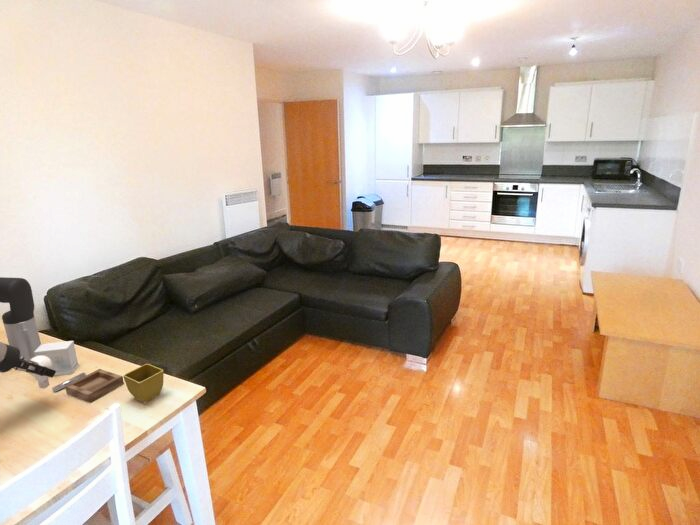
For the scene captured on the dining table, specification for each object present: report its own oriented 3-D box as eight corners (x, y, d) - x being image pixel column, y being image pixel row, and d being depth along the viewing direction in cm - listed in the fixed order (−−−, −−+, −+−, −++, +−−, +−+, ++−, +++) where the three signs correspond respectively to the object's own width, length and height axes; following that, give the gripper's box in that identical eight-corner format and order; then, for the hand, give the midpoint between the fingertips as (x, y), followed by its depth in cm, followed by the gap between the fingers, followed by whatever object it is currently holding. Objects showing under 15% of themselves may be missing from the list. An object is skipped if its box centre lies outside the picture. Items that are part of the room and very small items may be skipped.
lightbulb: (44, 394, 129) (36, 363, 125) (27, 392, 130) (19, 360, 127) (61, 383, 134) (54, 352, 131) (45, 381, 136) (38, 350, 132)
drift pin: (56, 392, 139) (54, 388, 139) (52, 391, 140) (51, 386, 139) (87, 376, 149) (86, 372, 148) (84, 375, 149) (83, 371, 149)
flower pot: (168, 394, 138) (164, 369, 135) (143, 408, 130) (139, 382, 128) (151, 386, 142) (147, 363, 139) (126, 400, 135) (122, 375, 132)
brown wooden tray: (66, 394, 138) (64, 386, 137) (101, 376, 149) (99, 368, 148) (90, 403, 133) (88, 394, 132) (123, 383, 144) (122, 376, 143)
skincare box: (39, 378, 148) (33, 351, 145) (47, 369, 154) (41, 343, 151) (72, 374, 150) (66, 347, 147) (79, 365, 156) (73, 339, 154)
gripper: (-28, 362, 120) (26, 377, 134) (0, 374, 114) (54, 389, 128) (-11, 337, 123) (41, 355, 137) (17, 348, 117) (68, 365, 131)
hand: (47, 371), depth 132 cm, fingers closed on lightbulb, 6 cm apart
